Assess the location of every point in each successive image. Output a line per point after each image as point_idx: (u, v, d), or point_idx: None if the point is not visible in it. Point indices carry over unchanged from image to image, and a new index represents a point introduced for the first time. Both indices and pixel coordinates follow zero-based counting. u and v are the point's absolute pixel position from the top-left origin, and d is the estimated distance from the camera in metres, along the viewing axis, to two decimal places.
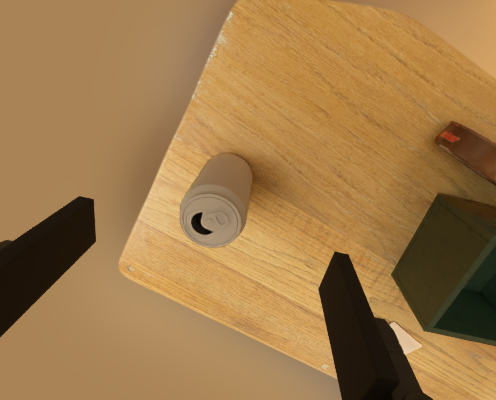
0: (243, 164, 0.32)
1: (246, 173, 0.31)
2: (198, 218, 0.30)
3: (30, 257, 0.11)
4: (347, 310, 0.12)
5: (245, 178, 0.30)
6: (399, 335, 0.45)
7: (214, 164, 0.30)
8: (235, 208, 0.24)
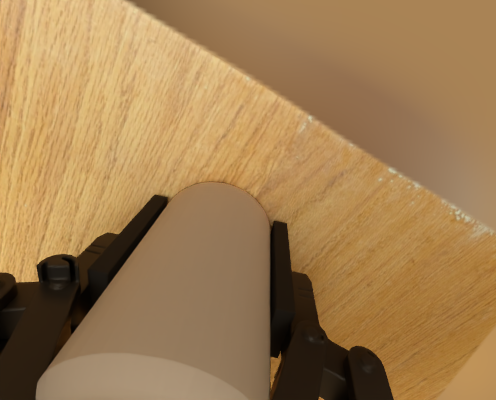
0: None
1: None
2: (113, 279, 0.09)
3: (134, 247, 0.12)
4: (272, 265, 0.13)
5: None
6: None
7: (268, 271, 0.12)
8: None
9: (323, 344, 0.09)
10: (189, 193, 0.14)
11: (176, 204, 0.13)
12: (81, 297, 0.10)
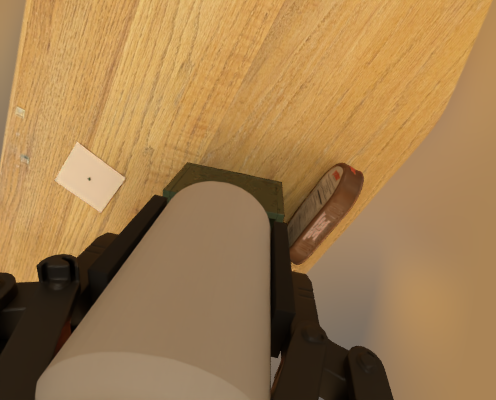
0: None
1: None
2: (113, 278, 0.09)
3: (134, 246, 0.12)
4: (272, 266, 0.13)
5: None
6: (108, 187, 0.41)
7: (269, 270, 0.12)
8: None
9: (323, 344, 0.09)
10: (189, 192, 0.14)
11: (176, 203, 0.13)
12: (81, 297, 0.10)
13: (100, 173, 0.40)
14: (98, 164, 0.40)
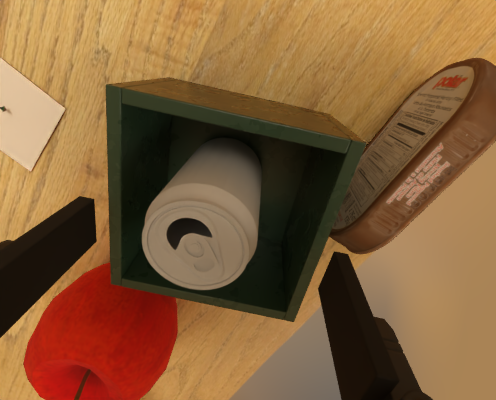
0: None
1: None
2: None
3: (31, 257, 0.11)
4: (346, 310, 0.12)
5: None
6: (39, 126, 0.25)
7: (259, 184, 0.20)
8: (225, 283, 0.15)
9: None
10: (209, 143, 0.22)
11: (201, 148, 0.21)
12: None
13: (23, 99, 0.24)
14: (17, 83, 0.23)
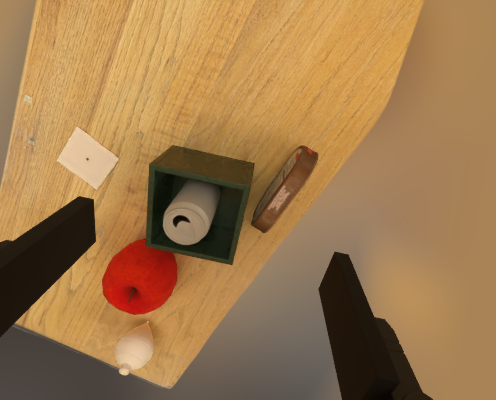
0: None
1: None
2: (175, 197, 0.39)
3: (30, 257, 0.11)
4: (347, 310, 0.12)
5: None
6: (104, 167, 0.47)
7: (215, 199, 0.42)
8: (196, 242, 0.37)
9: None
10: None
11: (188, 181, 0.43)
12: None
13: (97, 154, 0.46)
14: (95, 146, 0.45)
